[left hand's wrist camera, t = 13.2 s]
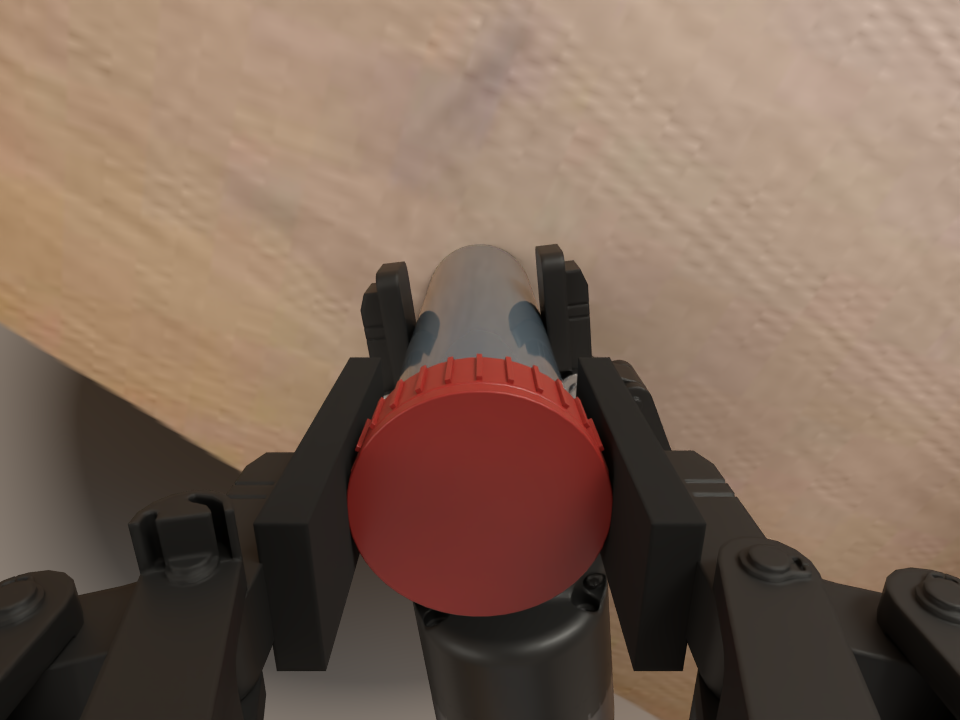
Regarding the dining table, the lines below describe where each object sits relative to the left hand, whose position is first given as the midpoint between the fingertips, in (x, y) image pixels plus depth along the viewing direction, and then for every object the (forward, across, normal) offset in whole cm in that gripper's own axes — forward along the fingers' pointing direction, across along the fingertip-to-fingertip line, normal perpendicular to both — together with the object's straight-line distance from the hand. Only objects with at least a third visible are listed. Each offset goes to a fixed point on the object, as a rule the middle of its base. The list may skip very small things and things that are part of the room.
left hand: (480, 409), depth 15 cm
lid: (-4, 0, 0) cm, 4 cm away
